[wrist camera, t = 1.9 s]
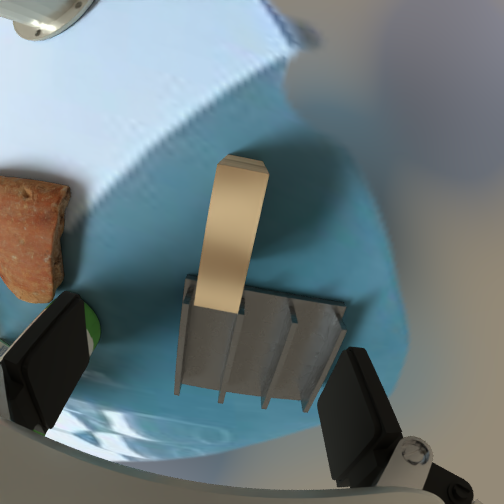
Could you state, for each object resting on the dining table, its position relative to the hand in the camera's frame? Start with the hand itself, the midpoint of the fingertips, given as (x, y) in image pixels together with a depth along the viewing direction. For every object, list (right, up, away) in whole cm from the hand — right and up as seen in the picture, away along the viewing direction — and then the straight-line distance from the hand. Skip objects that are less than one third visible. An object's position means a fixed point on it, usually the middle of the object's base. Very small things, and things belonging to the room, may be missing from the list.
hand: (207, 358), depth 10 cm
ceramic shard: (-26, +6, +20) cm, 33 cm away
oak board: (0, +8, +19) cm, 20 cm away
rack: (+2, -7, +25) cm, 26 cm away
